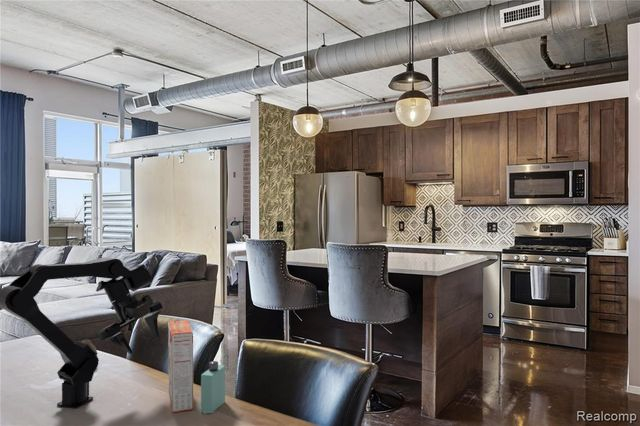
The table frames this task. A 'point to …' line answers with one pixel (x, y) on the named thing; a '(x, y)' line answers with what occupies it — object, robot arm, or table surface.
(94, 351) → the vase
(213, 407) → the teal flask bottle
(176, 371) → the cracker box
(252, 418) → the table surface
